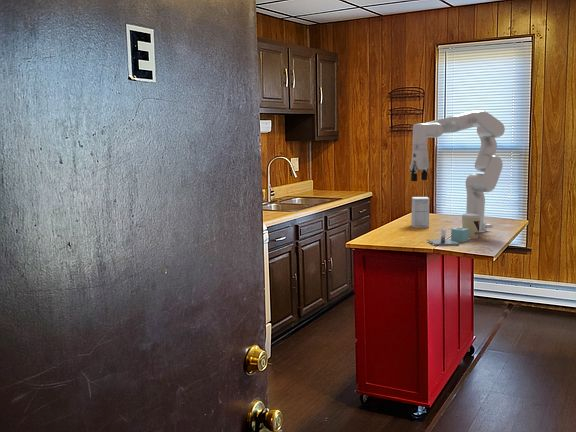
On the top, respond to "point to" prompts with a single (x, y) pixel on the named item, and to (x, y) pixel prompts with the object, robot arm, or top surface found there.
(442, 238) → the shaft stand
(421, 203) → the supplement box
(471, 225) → the coffee cup
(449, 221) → the top surface
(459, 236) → the collar
